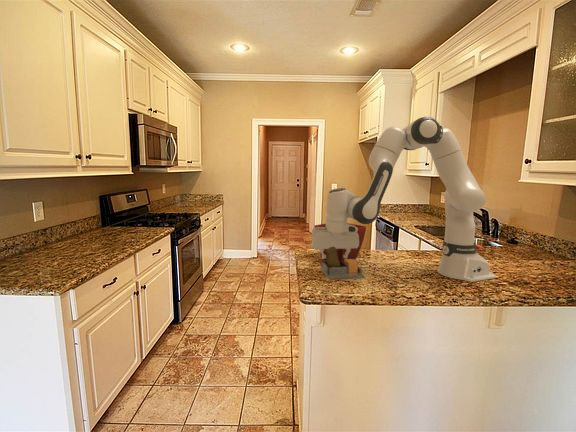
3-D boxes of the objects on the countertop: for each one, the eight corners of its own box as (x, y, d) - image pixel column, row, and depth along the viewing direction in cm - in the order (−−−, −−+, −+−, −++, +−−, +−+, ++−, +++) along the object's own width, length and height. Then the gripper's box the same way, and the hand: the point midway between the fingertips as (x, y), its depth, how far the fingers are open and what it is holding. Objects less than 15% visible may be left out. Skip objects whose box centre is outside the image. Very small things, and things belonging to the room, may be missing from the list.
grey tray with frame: (352, 268, 137) (352, 258, 136) (363, 278, 124) (364, 267, 123) (320, 269, 134) (321, 259, 134) (329, 279, 122) (329, 269, 121)
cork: (344, 267, 129) (339, 242, 127) (336, 272, 124) (332, 247, 122) (332, 265, 133) (328, 242, 131) (324, 271, 128) (320, 247, 126)
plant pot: (312, 256, 154) (313, 224, 152) (337, 251, 166) (338, 221, 163) (340, 266, 139) (341, 231, 137) (365, 259, 151) (367, 226, 149)
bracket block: (352, 267, 133) (352, 258, 132) (357, 272, 127) (357, 263, 126) (343, 267, 132) (344, 259, 131) (348, 272, 126) (348, 263, 126)
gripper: (313, 228, 121) (312, 261, 123) (361, 228, 124) (359, 260, 126) (310, 225, 127) (309, 257, 129) (355, 225, 130) (354, 255, 132)
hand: (334, 258), depth 128 cm, fingers open, 8 cm apart
